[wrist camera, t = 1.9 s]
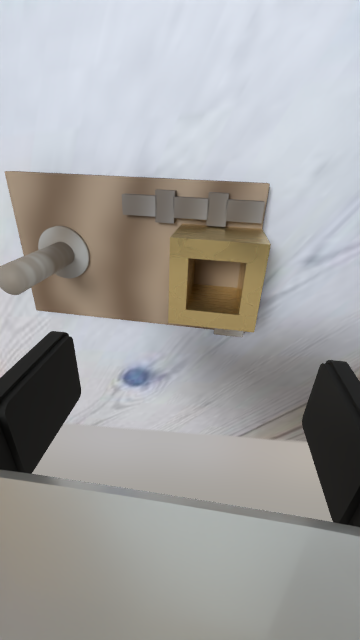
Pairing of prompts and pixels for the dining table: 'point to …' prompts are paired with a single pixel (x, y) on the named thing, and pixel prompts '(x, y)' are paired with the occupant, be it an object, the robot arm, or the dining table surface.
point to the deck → (118, 240)
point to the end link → (216, 301)
